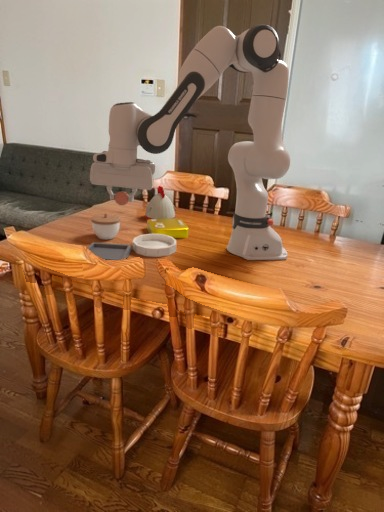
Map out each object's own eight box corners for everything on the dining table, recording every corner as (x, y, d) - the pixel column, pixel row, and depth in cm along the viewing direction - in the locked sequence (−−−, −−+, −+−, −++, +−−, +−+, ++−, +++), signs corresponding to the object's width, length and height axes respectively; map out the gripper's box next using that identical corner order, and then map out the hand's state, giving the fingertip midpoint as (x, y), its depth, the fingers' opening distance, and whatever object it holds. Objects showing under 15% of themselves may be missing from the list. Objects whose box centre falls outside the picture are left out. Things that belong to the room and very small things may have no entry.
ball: (130, 204, 118) (130, 190, 116) (127, 207, 114) (127, 193, 112) (116, 202, 118) (116, 189, 116) (113, 206, 114) (113, 192, 112)
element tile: (189, 238, 142) (190, 227, 140) (153, 240, 137) (153, 229, 135) (179, 227, 155) (180, 216, 153) (146, 228, 150) (146, 218, 149)
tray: (131, 250, 125) (131, 244, 125) (123, 265, 113) (123, 260, 112) (92, 247, 125) (92, 242, 125) (80, 263, 112) (79, 257, 112)
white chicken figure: (169, 213, 173) (170, 183, 167) (179, 221, 161) (181, 189, 156) (141, 215, 167) (142, 184, 162) (150, 223, 156) (151, 190, 150)
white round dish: (177, 242, 136) (177, 235, 134) (174, 258, 121) (174, 250, 120) (137, 239, 135) (137, 232, 134) (129, 255, 121) (129, 247, 120)
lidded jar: (113, 243, 131) (113, 219, 127) (87, 239, 132) (85, 215, 129) (124, 234, 141) (124, 211, 137) (99, 231, 142) (98, 208, 139)
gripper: (156, 159, 113) (154, 201, 118) (93, 153, 113) (94, 195, 118) (154, 161, 107) (151, 205, 112) (87, 155, 107) (88, 199, 112)
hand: (121, 200), depth 115 cm, fingers closed on ball, 5 cm apart
